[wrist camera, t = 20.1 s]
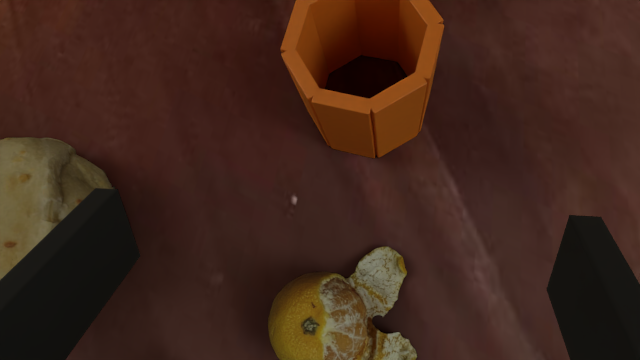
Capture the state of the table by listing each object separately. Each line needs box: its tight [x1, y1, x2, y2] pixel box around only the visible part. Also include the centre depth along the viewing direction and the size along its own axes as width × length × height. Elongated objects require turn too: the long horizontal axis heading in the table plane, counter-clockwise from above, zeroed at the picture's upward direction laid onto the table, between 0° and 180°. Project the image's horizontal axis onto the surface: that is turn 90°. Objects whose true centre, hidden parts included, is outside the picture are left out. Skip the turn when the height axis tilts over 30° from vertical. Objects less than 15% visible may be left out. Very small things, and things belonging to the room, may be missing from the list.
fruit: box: [268, 246, 417, 360], centre depth 26 cm, size 8×8×4 cm
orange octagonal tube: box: [280, 0, 444, 158], centre depth 26 cm, size 8×8×8 cm
